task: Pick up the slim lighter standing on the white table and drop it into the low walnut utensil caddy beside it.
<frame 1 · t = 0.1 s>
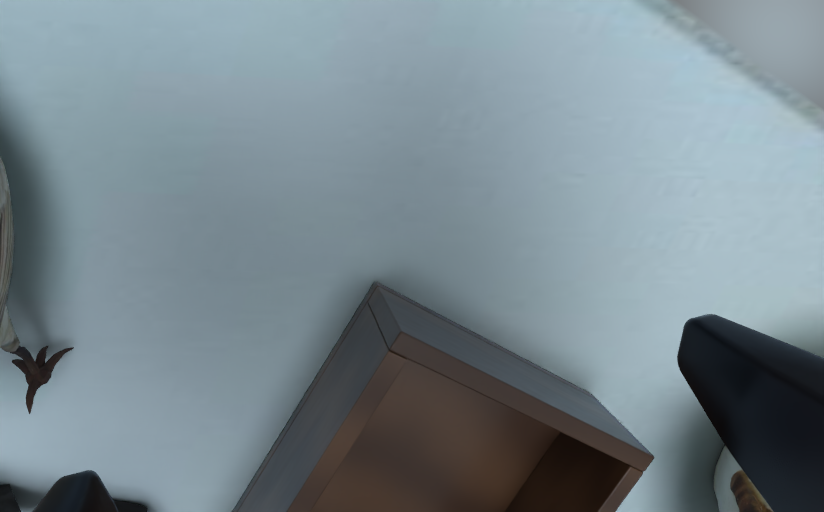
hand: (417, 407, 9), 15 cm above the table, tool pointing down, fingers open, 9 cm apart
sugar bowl: (774, 455, 34), on the table
caddy: (407, 469, 28), on the table
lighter: (45, 493, 24), on the table
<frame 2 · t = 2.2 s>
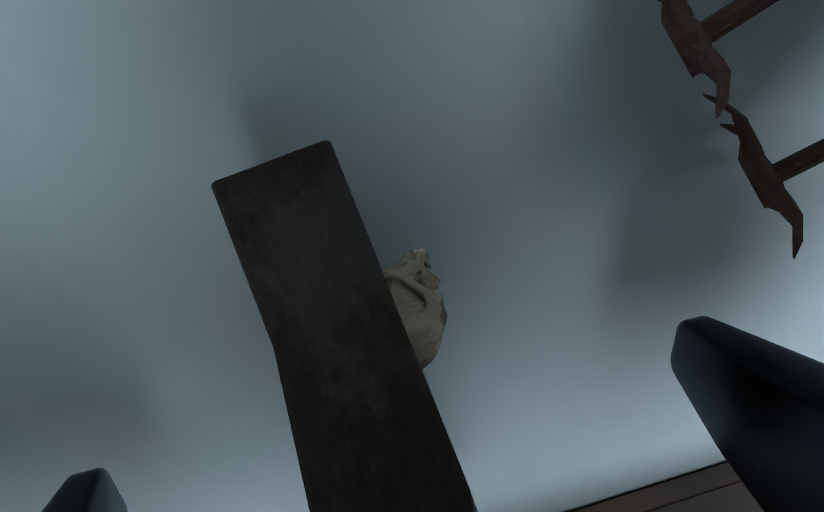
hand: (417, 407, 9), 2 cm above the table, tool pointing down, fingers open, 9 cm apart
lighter: (375, 323, 11), on the table
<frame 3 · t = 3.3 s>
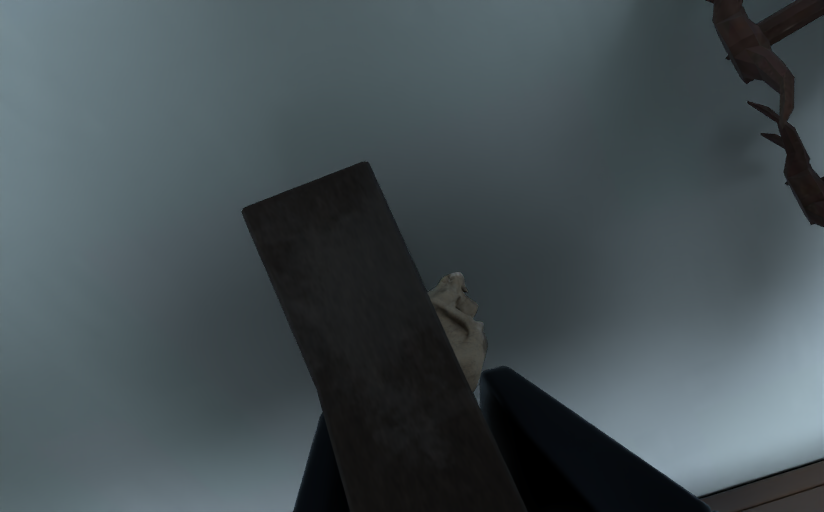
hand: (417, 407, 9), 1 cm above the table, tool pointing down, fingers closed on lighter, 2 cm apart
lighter: (395, 345, 10), on the table, touching gripper
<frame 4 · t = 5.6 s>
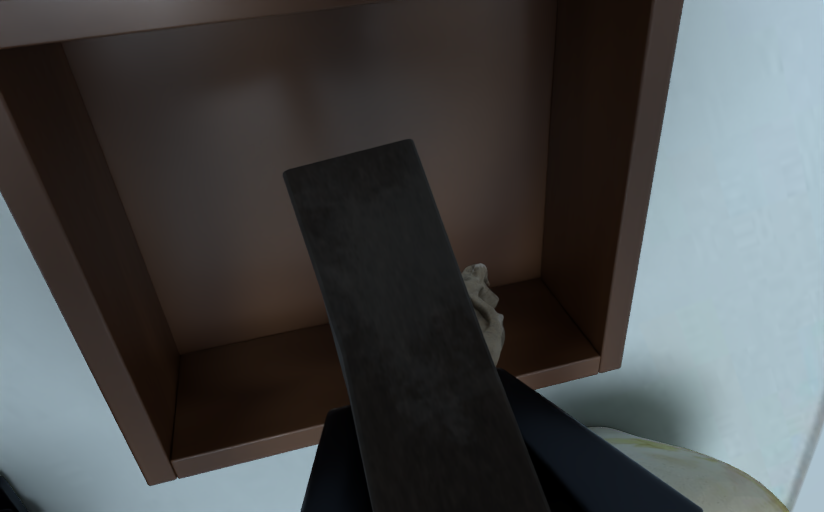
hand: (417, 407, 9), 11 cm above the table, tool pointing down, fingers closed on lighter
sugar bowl: (564, 477, 31), on the table
caddy: (347, 164, 19), on the table
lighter: (401, 337, 10), point 10 cm above the table, touching gripper
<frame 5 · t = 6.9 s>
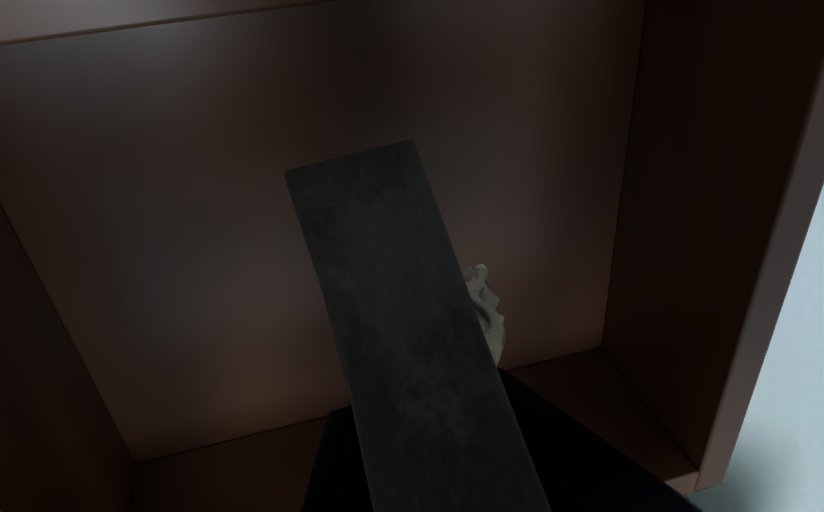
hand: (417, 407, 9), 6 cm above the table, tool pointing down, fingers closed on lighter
caddy: (354, 216, 14), on the table
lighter: (401, 338, 10), point 5 cm above the table, touching gripper
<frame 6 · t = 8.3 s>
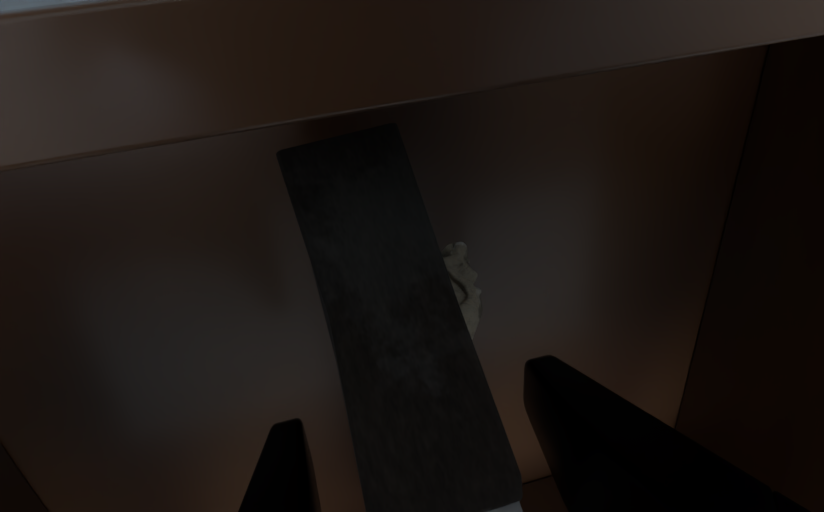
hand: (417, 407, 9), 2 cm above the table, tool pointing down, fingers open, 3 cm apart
caddy: (383, 307, 11), on the table
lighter: (389, 317, 11), resting on caddy
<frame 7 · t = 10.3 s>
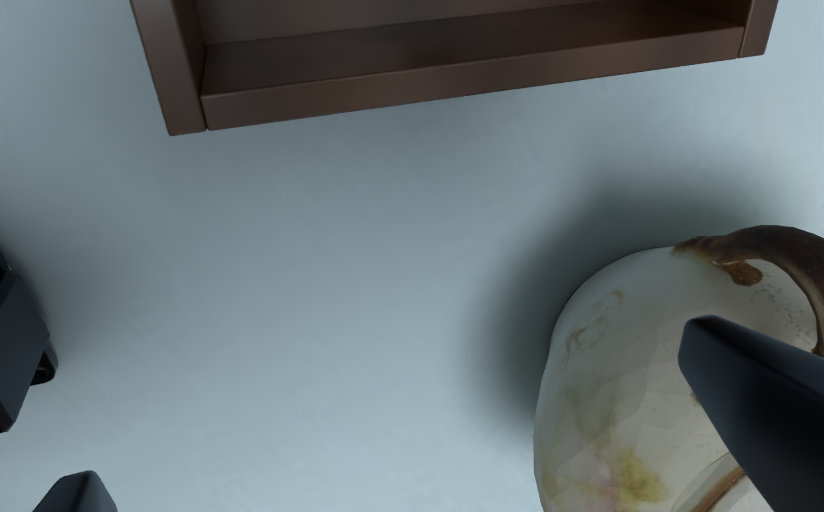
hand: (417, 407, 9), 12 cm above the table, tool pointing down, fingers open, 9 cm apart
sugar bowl: (633, 319, 27), on the table
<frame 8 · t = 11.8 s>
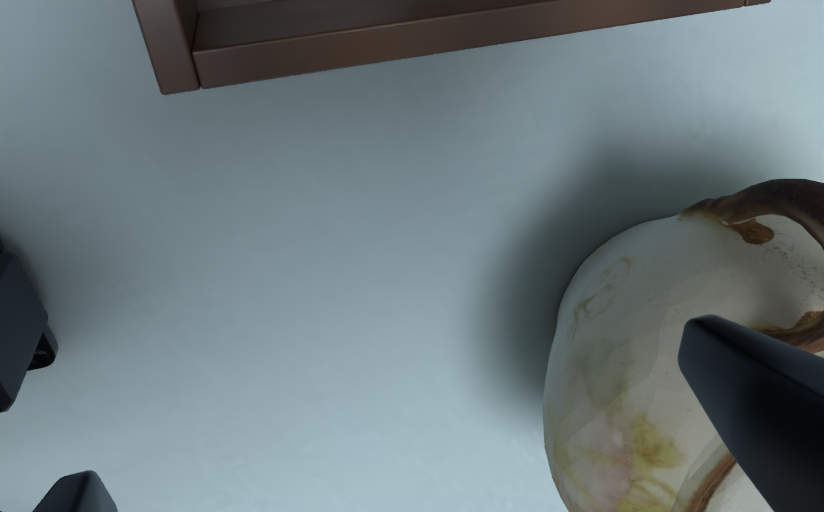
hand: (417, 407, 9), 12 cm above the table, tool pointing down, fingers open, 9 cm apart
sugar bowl: (641, 293, 27), on the table
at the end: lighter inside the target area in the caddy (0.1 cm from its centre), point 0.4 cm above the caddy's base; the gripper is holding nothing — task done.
